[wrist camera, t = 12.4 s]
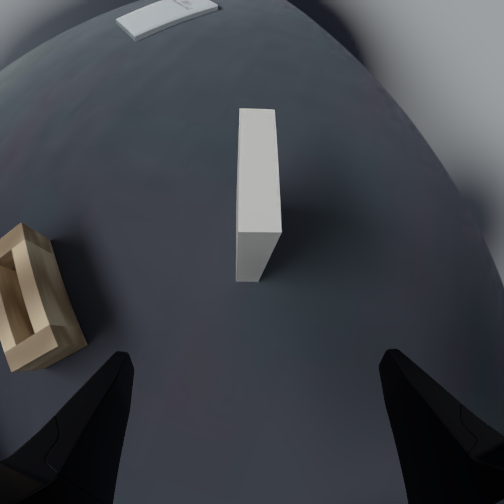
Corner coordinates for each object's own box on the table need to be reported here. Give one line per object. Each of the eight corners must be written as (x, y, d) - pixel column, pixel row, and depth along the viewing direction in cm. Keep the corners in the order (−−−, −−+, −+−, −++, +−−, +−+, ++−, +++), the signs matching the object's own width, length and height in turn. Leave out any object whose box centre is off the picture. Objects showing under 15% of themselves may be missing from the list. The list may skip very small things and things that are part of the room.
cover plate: (258, 281, 22) (281, 232, 11) (236, 281, 22) (238, 231, 11) (257, 204, 23) (274, 109, 13) (236, 204, 23) (239, 108, 13)
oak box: (88, 345, 20) (58, 346, 15) (44, 368, 19) (11, 372, 14) (50, 240, 22) (21, 222, 17) (11, 267, 21) (-20, 255, 16)
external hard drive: (117, 26, 31) (190, -3, 33) (136, 45, 29) (218, 13, 32) (114, 18, 29) (190, -11, 31) (133, 36, 28) (218, 4, 30)
